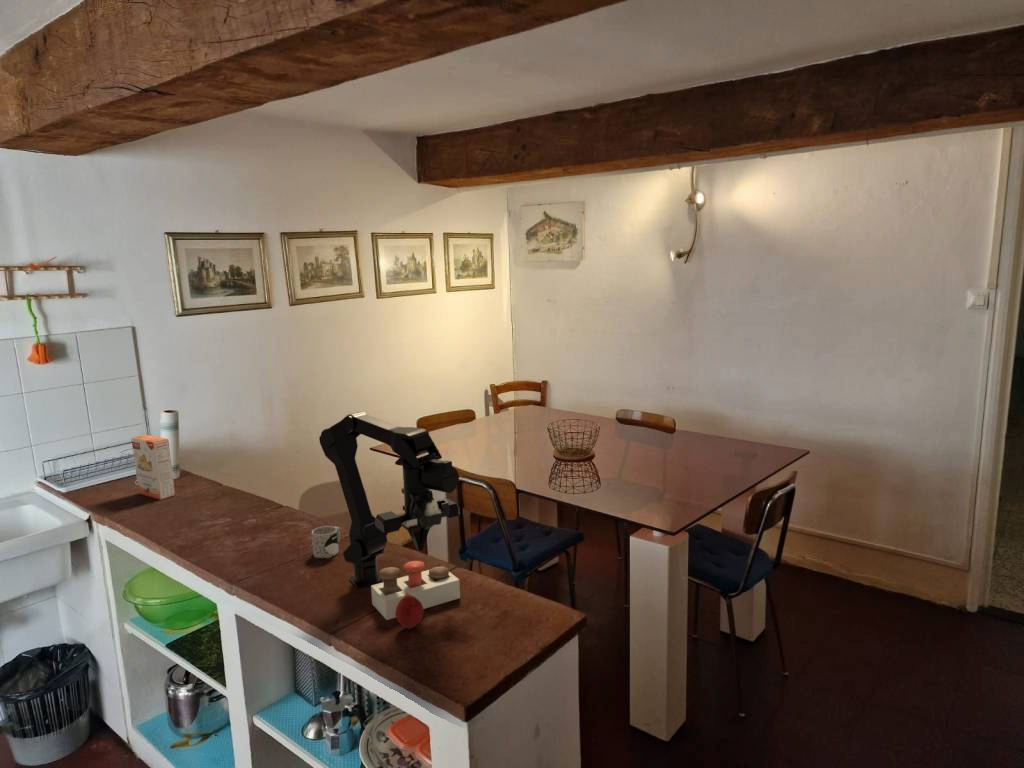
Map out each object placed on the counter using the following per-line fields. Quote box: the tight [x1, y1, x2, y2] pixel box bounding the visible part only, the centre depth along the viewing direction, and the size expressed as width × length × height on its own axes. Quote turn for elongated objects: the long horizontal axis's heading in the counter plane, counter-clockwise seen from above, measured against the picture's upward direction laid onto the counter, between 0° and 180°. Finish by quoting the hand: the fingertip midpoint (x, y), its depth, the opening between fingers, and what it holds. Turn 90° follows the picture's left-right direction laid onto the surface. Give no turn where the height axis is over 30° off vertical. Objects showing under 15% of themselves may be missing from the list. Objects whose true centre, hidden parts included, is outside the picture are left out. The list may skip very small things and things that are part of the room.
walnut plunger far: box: [428, 566, 450, 581], centre depth 163 cm, size 5×5×6 cm
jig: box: [370, 565, 461, 621], centre depth 160 cm, size 9×18×4 cm, turn 121°
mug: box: [311, 525, 341, 560], centre depth 190 cm, size 10×7×7 cm, turn 161°
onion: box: [395, 593, 424, 630], centre depth 148 cm, size 6×6×8 cm
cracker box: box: [130, 434, 176, 501], centre depth 245 cm, size 14×6×21 cm, turn 57°
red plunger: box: [403, 560, 426, 588], centre depth 159 cm, size 5×5×6 cm
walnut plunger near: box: [378, 566, 401, 596], centre depth 156 cm, size 5×5×6 cm
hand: (419, 550), depth 159 cm, fingers closed
